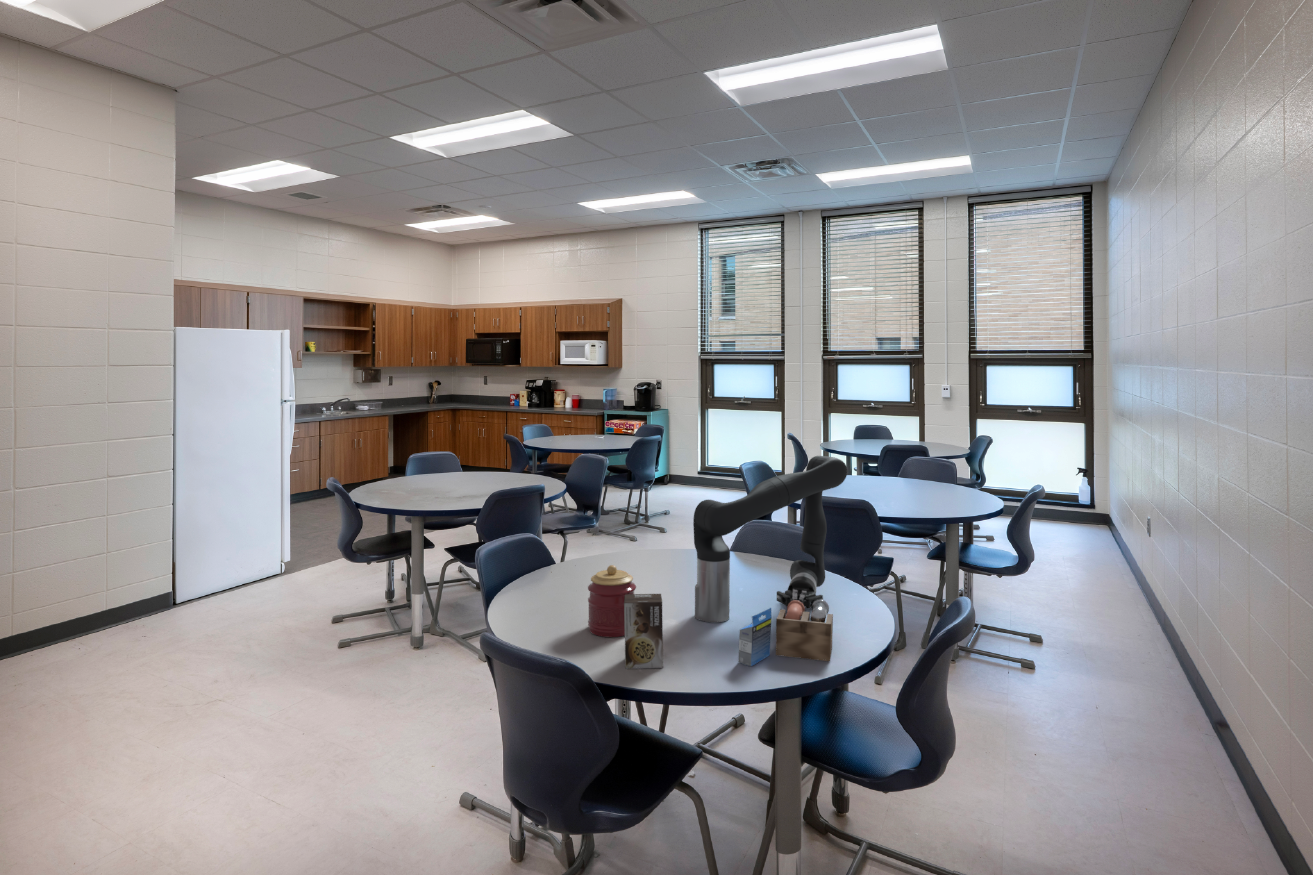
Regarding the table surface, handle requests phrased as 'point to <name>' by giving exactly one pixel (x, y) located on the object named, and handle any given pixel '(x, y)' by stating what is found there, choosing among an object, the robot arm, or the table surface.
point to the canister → (609, 602)
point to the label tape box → (755, 639)
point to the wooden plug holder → (804, 637)
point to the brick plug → (795, 610)
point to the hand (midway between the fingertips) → (796, 608)
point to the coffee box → (643, 631)
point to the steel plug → (819, 611)
